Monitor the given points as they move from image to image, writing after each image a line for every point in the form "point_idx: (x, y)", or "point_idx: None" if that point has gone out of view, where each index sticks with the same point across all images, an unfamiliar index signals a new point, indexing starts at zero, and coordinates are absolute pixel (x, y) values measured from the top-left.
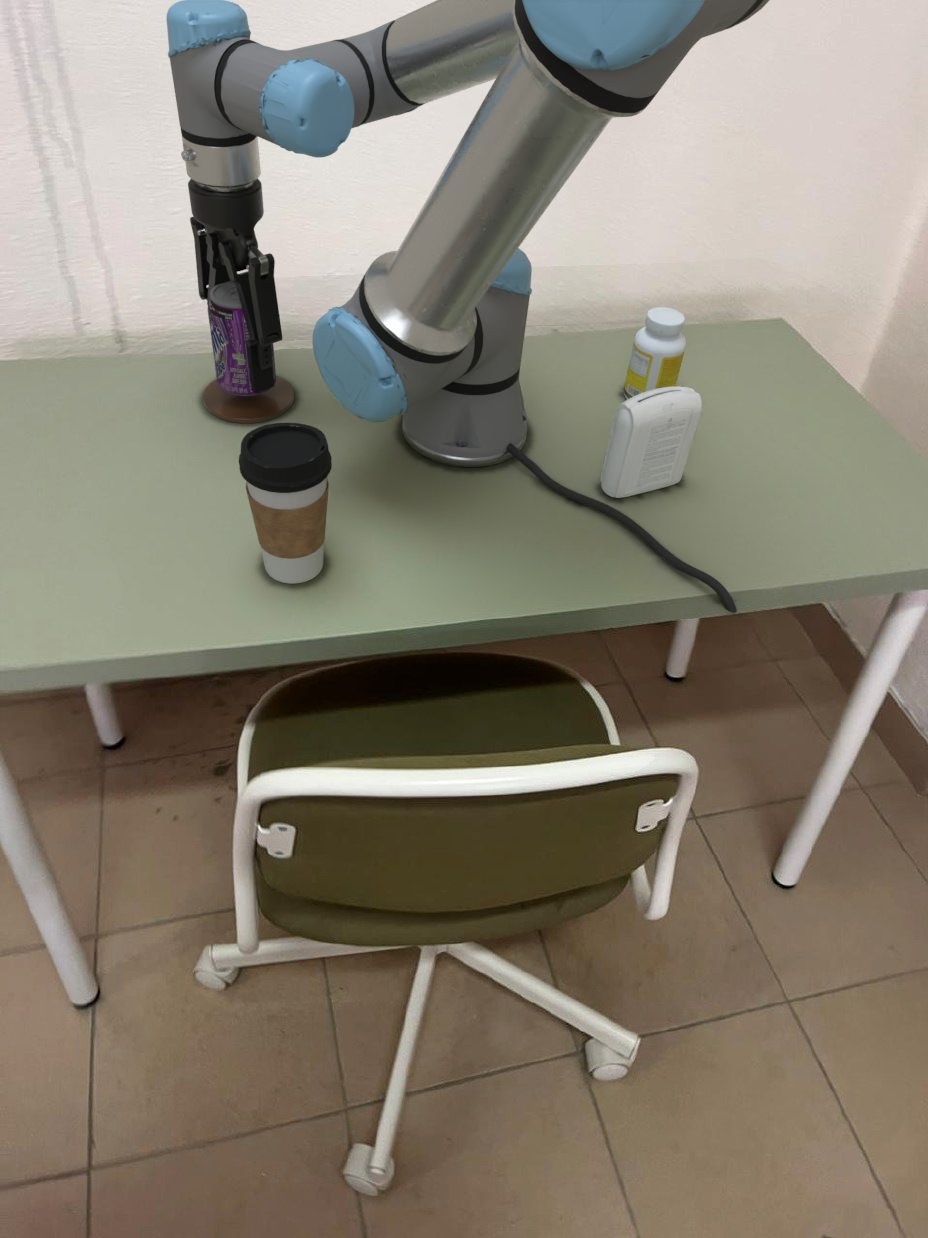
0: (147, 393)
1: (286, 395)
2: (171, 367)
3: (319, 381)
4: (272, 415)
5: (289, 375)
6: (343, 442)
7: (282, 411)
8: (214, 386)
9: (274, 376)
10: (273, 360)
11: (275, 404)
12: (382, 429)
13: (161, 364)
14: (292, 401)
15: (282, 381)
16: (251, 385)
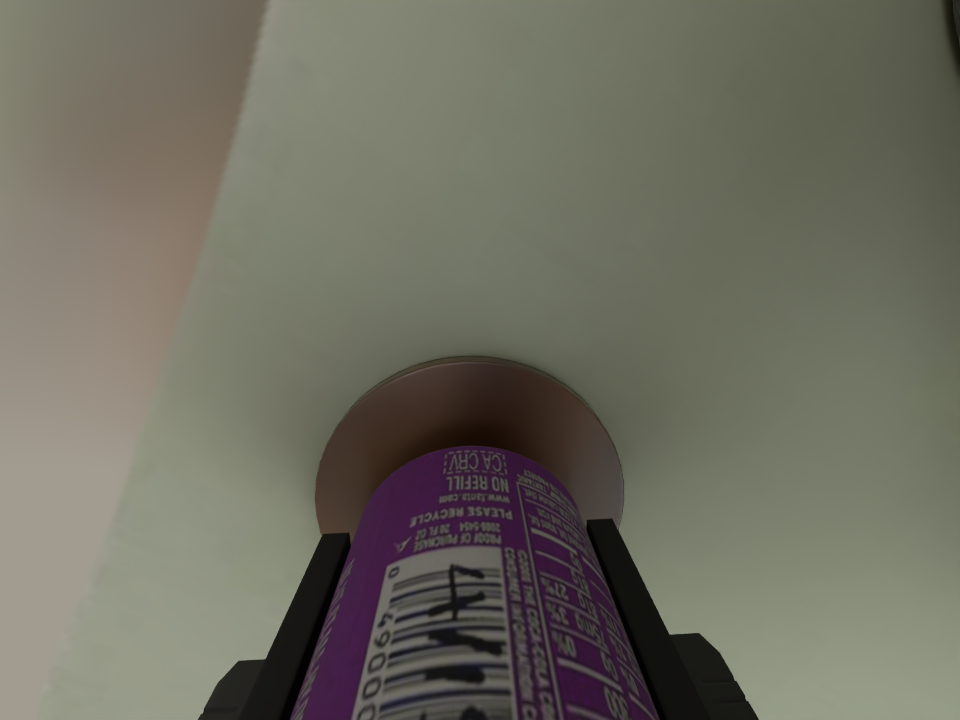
0: None
1: (550, 408)
2: (175, 606)
3: (506, 229)
4: (623, 499)
5: (404, 309)
6: (878, 374)
7: (619, 461)
8: None
9: (565, 497)
10: (576, 543)
11: (578, 466)
12: (930, 208)
13: (144, 622)
14: (582, 400)
15: (457, 373)
16: None
